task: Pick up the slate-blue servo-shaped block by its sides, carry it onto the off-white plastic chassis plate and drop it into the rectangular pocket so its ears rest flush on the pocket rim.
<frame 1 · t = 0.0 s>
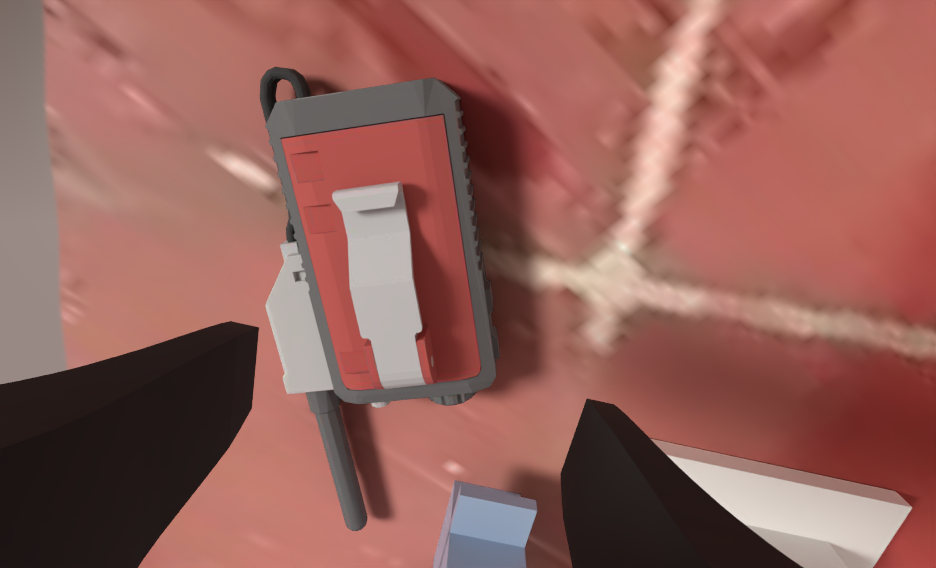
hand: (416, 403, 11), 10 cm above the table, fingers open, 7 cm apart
walkie-talkie: (392, 312, 22), on the table
servo: (475, 526, 25), on the table
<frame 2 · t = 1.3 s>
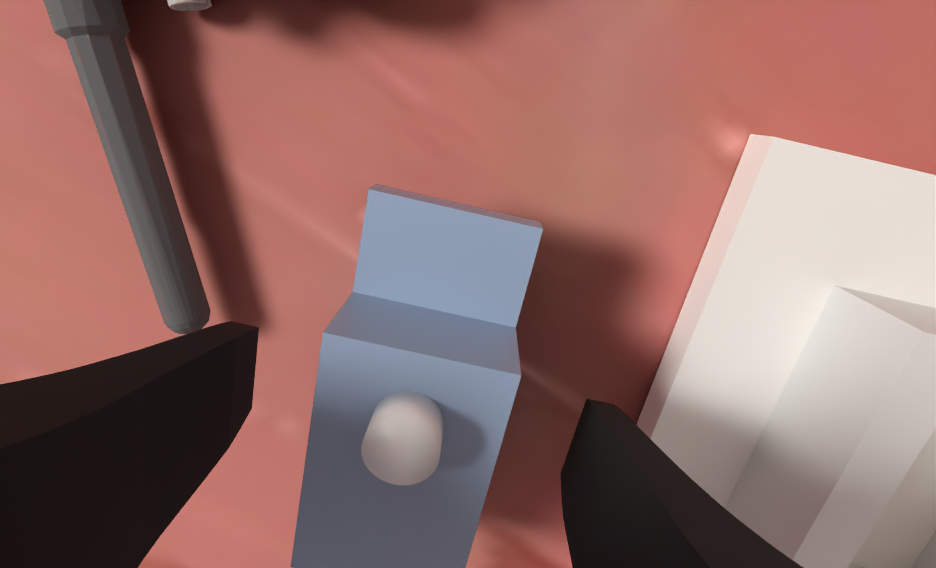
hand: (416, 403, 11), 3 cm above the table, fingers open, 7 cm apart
servo: (428, 349, 14), on the table
chassis: (858, 444, 14), on the table
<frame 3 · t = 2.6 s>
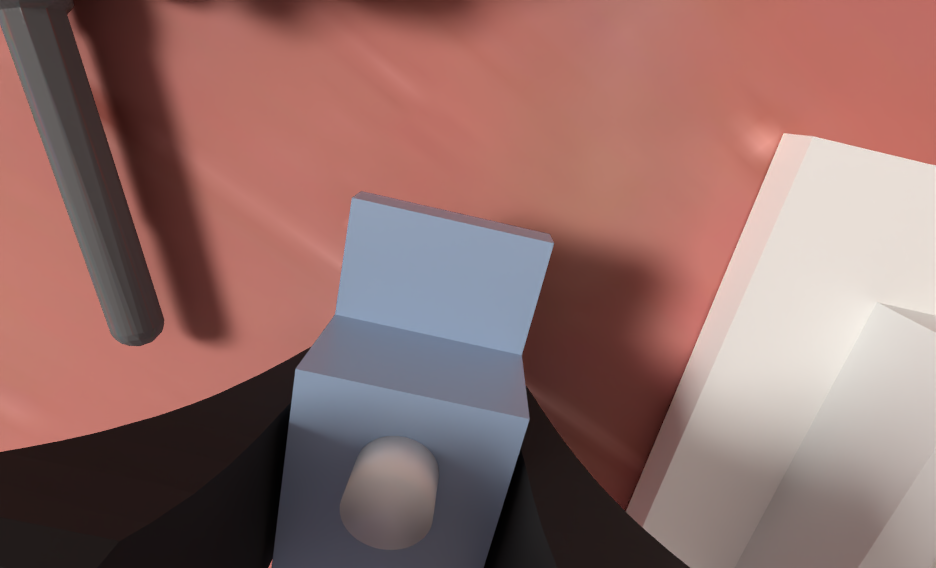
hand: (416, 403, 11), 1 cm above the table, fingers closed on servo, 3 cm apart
servo: (424, 370, 12), on the table, touching gripper
chassis: (894, 472, 13), on the table
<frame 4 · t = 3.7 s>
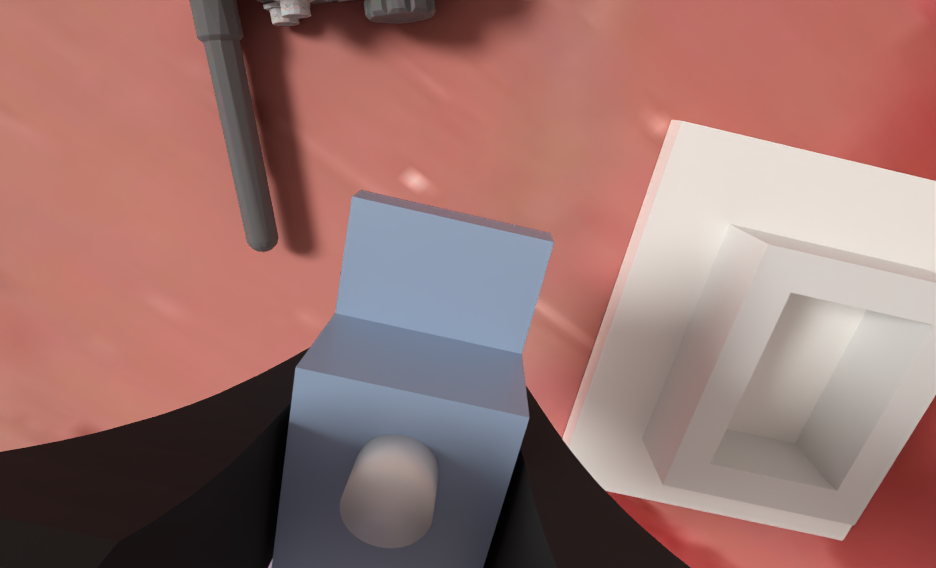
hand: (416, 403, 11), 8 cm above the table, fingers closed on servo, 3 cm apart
servo: (424, 369, 12), point 7 cm above the table, touching gripper
chassis: (760, 347, 19), on the table
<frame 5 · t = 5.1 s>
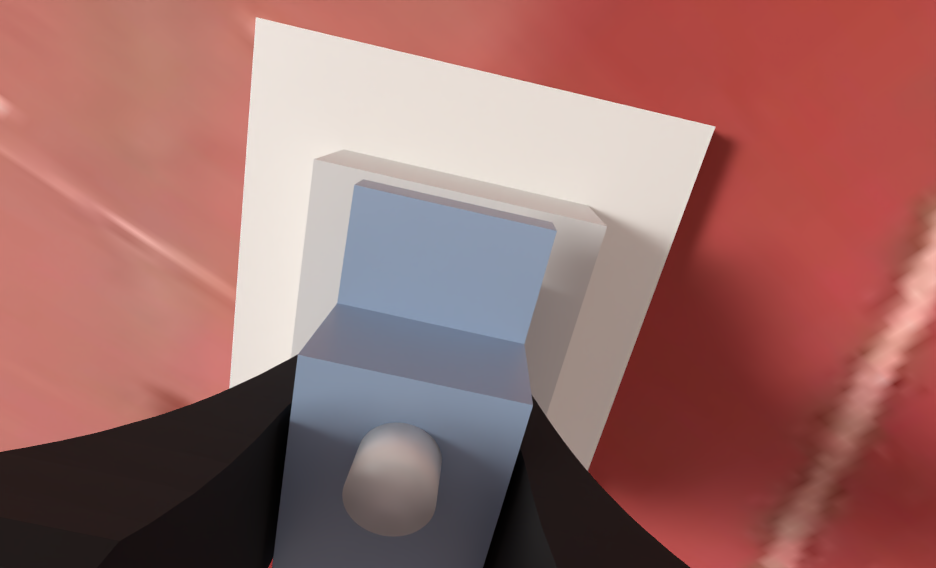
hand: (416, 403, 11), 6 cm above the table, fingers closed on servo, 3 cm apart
servo: (425, 362, 12), point 4 cm above the table, touching gripper
chassis: (438, 306, 16), on the table
when the fingers open (4 cm above the table, at t = 6.1 s): servo drops 1 cm, resting on chassis.
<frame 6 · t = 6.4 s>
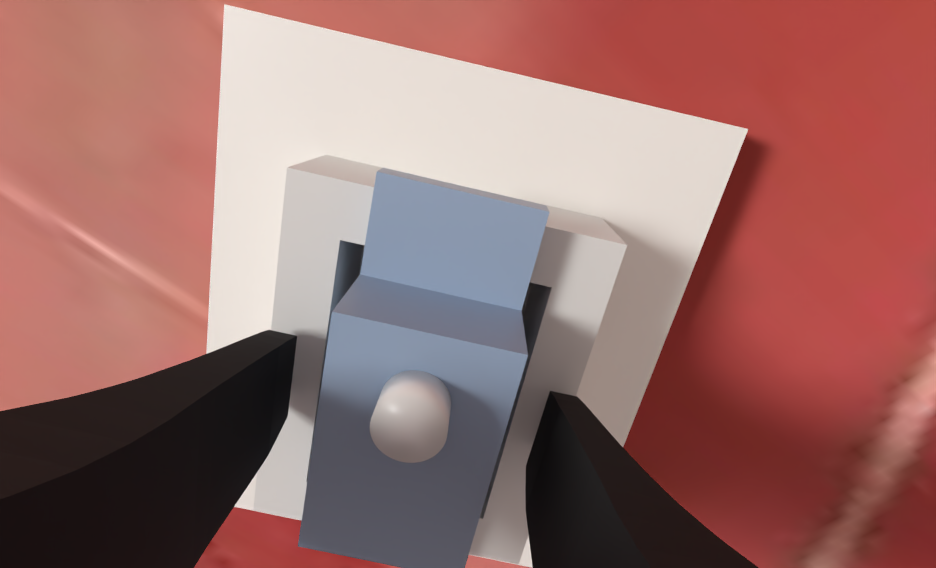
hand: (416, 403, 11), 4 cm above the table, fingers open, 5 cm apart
servo: (433, 336, 14), point 1 cm above the table, touching chassis
chassis: (434, 327, 15), on the table
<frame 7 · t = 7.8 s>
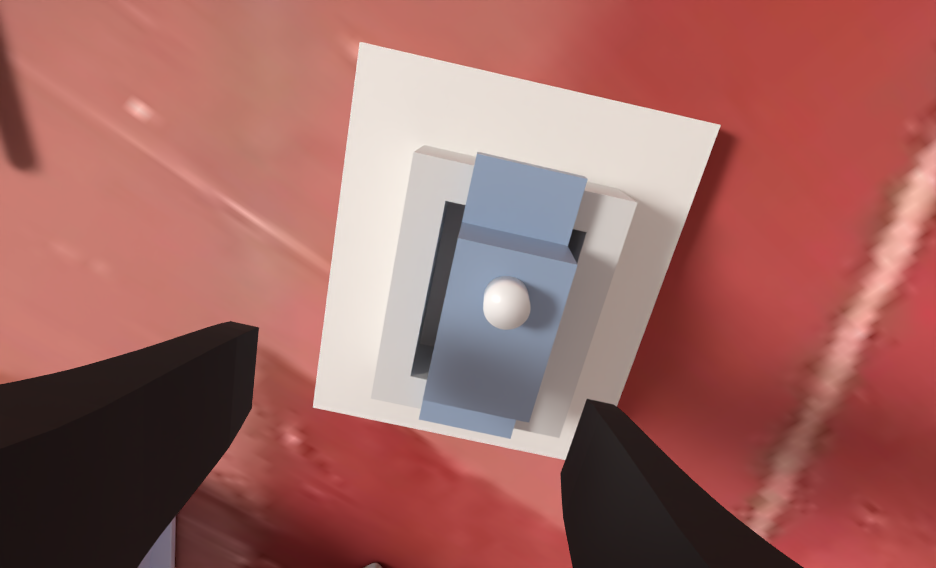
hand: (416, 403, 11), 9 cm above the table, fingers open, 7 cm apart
servo: (494, 277, 19), point 1 cm above the table, touching chassis
chassis: (493, 273, 20), on the table
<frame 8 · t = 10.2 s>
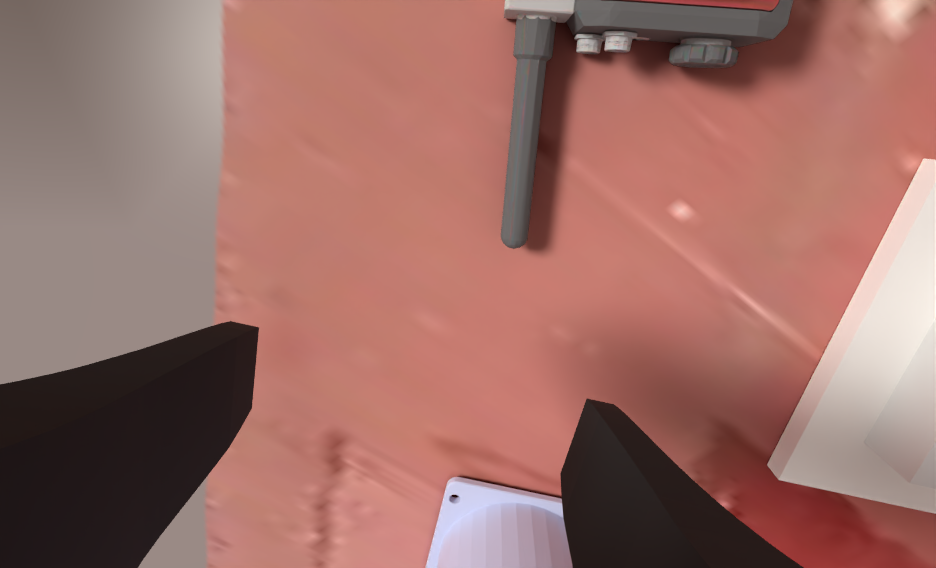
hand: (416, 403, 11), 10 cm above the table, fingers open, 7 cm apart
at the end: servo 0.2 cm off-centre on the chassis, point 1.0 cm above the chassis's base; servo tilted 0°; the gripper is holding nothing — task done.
